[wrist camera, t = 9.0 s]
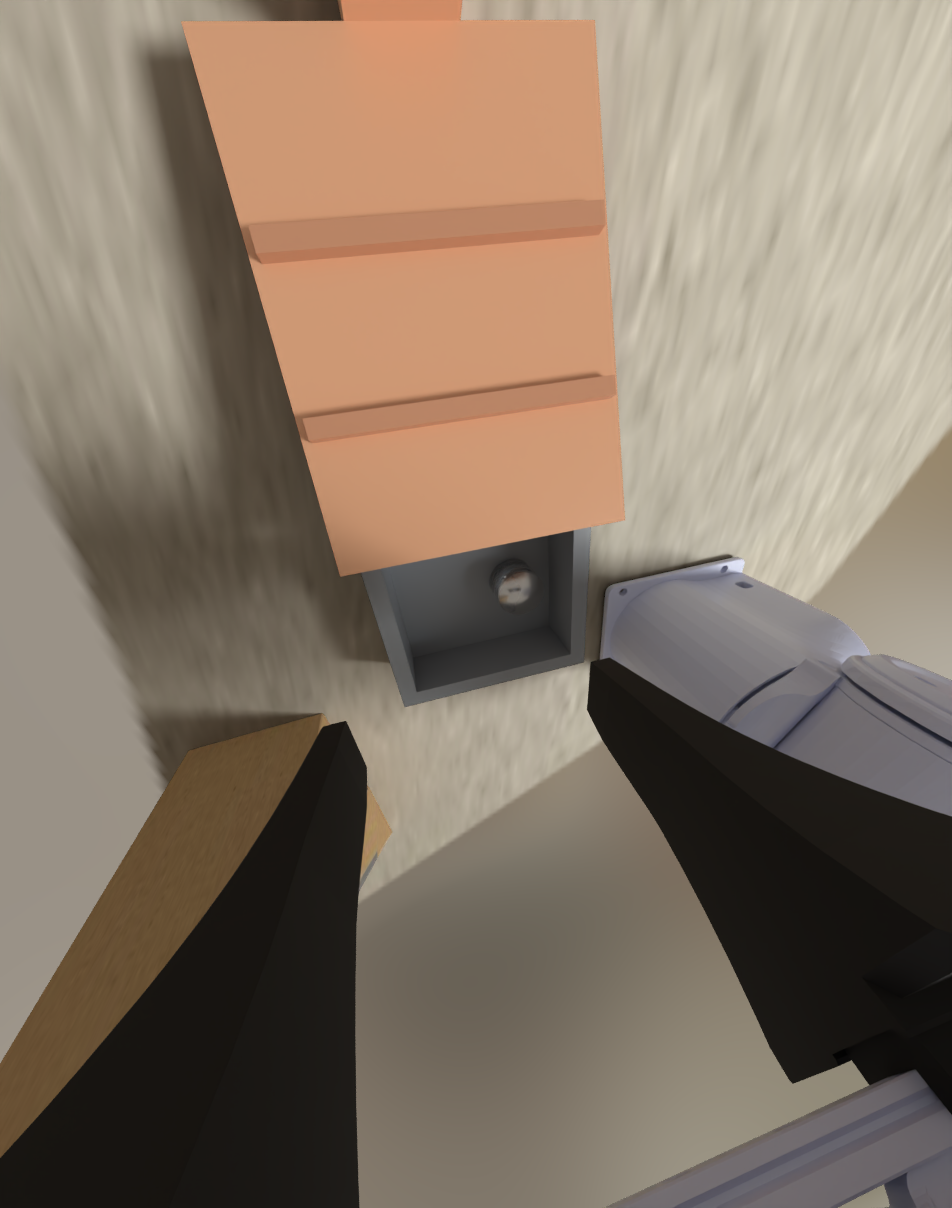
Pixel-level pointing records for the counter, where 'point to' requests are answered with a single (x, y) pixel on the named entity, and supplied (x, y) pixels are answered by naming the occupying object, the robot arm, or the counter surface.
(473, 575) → the tub
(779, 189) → the counter surface
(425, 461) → the lid
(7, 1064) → the sandwich container
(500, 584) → the slug
